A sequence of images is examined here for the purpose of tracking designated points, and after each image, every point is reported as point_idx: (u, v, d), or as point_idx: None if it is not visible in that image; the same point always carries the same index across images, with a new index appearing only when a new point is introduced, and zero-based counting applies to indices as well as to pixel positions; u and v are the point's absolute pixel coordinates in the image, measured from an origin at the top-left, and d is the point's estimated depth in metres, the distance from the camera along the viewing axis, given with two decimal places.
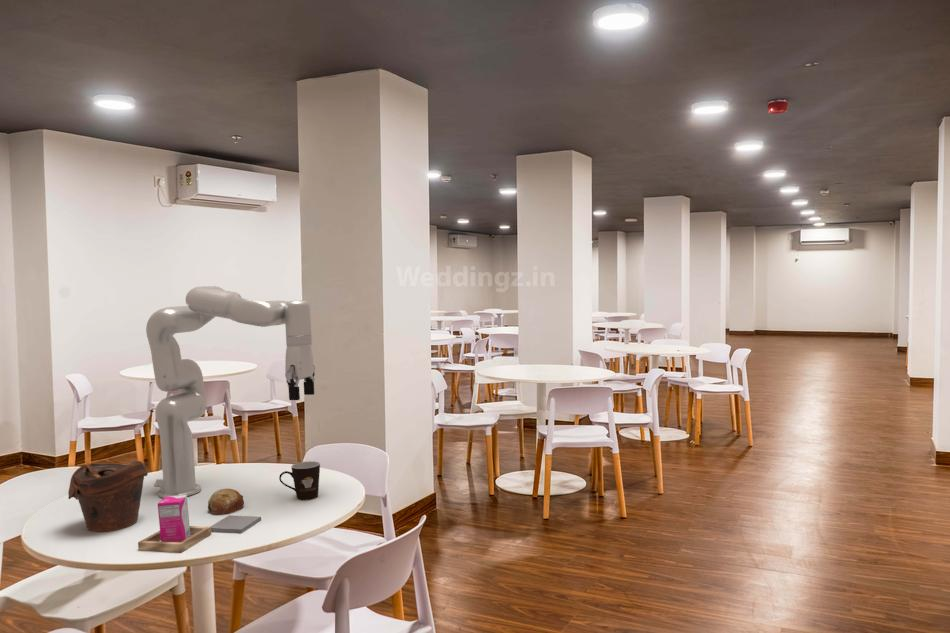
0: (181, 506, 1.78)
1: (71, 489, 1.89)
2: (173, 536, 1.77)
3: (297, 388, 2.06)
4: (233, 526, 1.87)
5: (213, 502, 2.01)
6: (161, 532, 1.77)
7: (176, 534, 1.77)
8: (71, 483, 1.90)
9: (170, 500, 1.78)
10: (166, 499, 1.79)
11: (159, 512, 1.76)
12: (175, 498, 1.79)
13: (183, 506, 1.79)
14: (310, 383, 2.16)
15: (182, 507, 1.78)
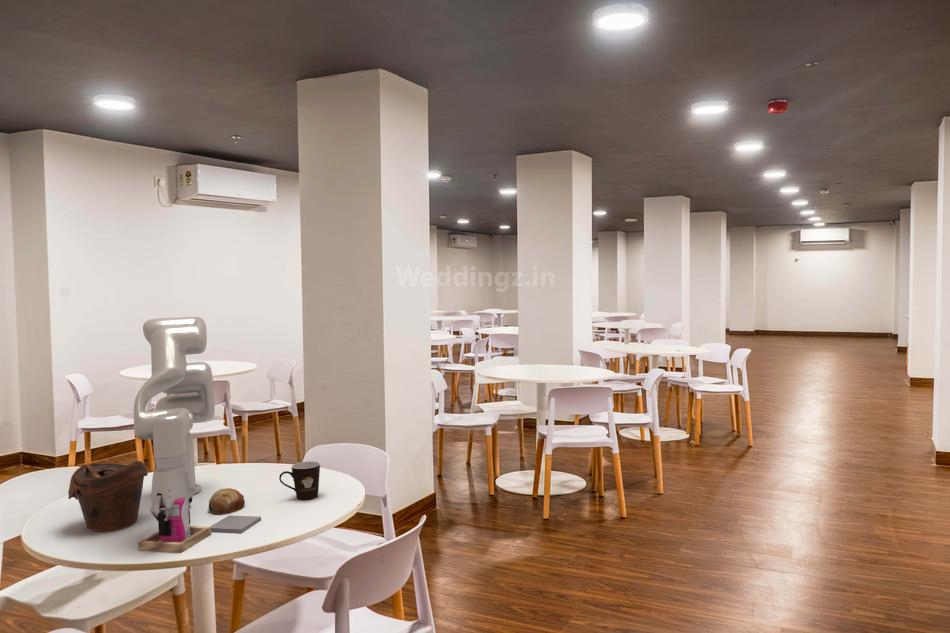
0: (181, 506, 1.78)
1: (71, 489, 1.89)
2: (173, 536, 1.77)
3: (168, 522, 1.75)
4: (233, 526, 1.87)
5: (214, 502, 2.01)
6: None
7: (176, 534, 1.77)
8: (71, 483, 1.90)
9: None
10: None
11: None
12: None
13: (183, 506, 1.79)
14: None
15: (182, 506, 1.78)
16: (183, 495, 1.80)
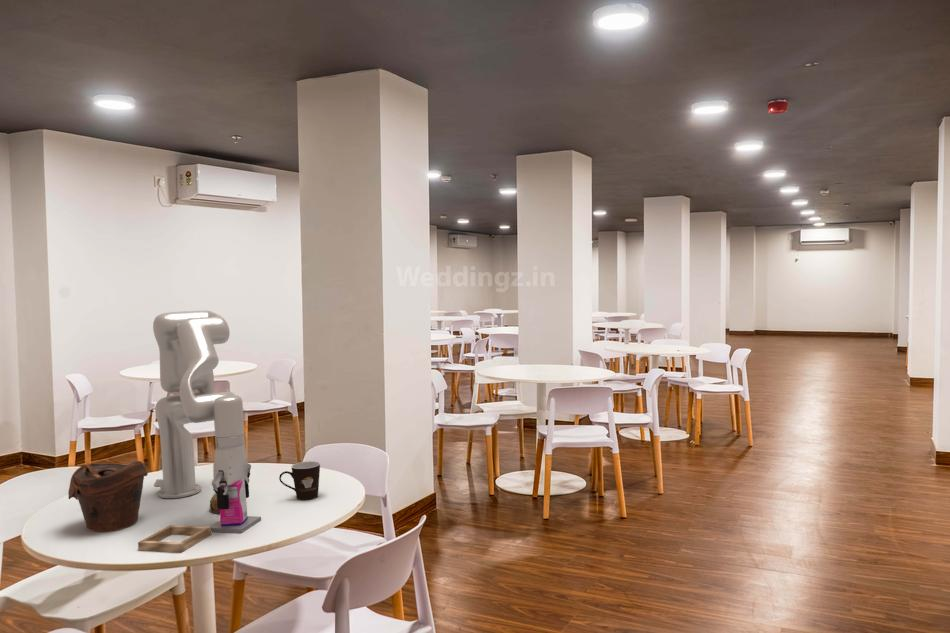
0: (239, 488, 1.88)
1: (71, 489, 1.89)
2: (232, 516, 1.87)
3: (226, 496, 1.85)
4: (233, 526, 1.87)
5: (215, 501, 2.02)
6: (221, 512, 1.87)
7: (234, 514, 1.87)
8: (71, 483, 1.90)
9: None
10: None
11: None
12: None
13: (241, 488, 1.89)
14: None
15: (240, 489, 1.88)
16: (241, 473, 1.90)
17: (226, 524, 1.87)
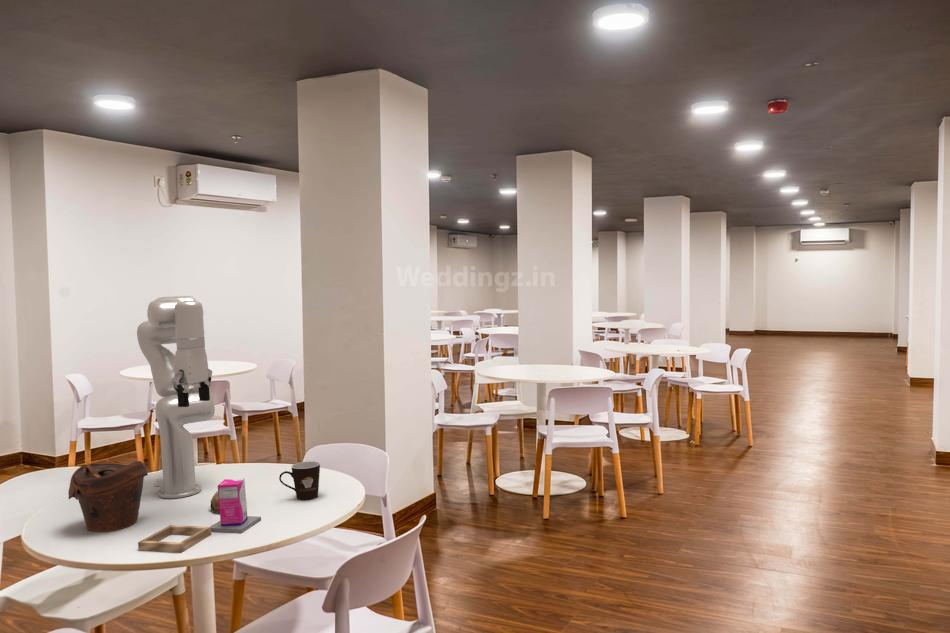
0: (239, 488, 1.88)
1: (71, 489, 1.89)
2: (232, 516, 1.87)
3: (186, 394, 1.95)
4: (233, 526, 1.87)
5: (216, 501, 2.02)
6: (221, 512, 1.87)
7: (234, 514, 1.87)
8: (71, 483, 1.90)
9: (229, 482, 1.88)
10: (225, 481, 1.90)
11: (219, 493, 1.87)
12: (233, 481, 1.90)
13: (241, 488, 1.89)
14: (205, 388, 2.04)
15: (240, 489, 1.88)
16: (202, 375, 2.00)
17: (226, 524, 1.87)
